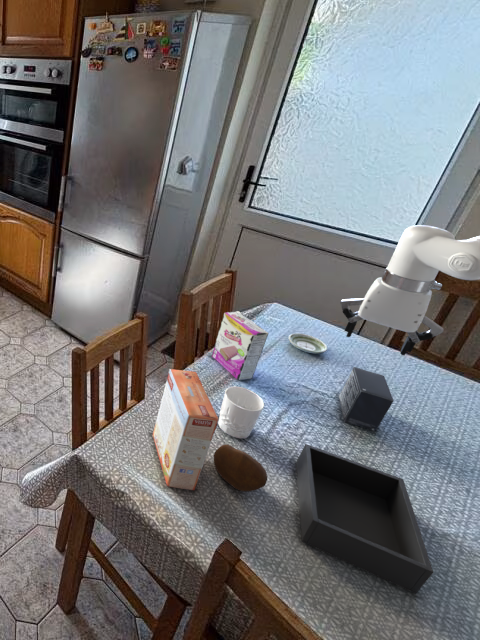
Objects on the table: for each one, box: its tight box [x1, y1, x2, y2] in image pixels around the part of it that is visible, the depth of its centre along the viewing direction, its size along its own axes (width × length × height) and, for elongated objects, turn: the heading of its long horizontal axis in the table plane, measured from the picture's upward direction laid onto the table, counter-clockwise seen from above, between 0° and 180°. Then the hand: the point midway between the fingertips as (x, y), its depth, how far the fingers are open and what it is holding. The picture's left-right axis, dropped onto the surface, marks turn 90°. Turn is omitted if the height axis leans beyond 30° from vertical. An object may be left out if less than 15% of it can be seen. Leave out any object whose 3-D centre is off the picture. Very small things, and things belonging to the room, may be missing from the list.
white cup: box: [217, 385, 265, 439], centre depth 99 cm, size 8×8×10 cm
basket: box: [295, 443, 434, 595], centre depth 79 cm, size 16×20×7 cm
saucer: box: [288, 332, 328, 354], centre depth 128 cm, size 10×10×2 cm
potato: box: [213, 443, 268, 492], centre depth 87 cm, size 7×10×8 cm
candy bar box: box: [211, 310, 269, 381], centre depth 118 cm, size 11×5×16 cm, turn 9°
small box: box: [338, 366, 395, 432], centre depth 103 cm, size 11×6×10 cm, turn 147°
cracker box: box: [152, 368, 219, 491], centre depth 89 cm, size 14×6×21 cm, turn 170°
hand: (374, 343), depth 98 cm, fingers open, 9 cm apart
